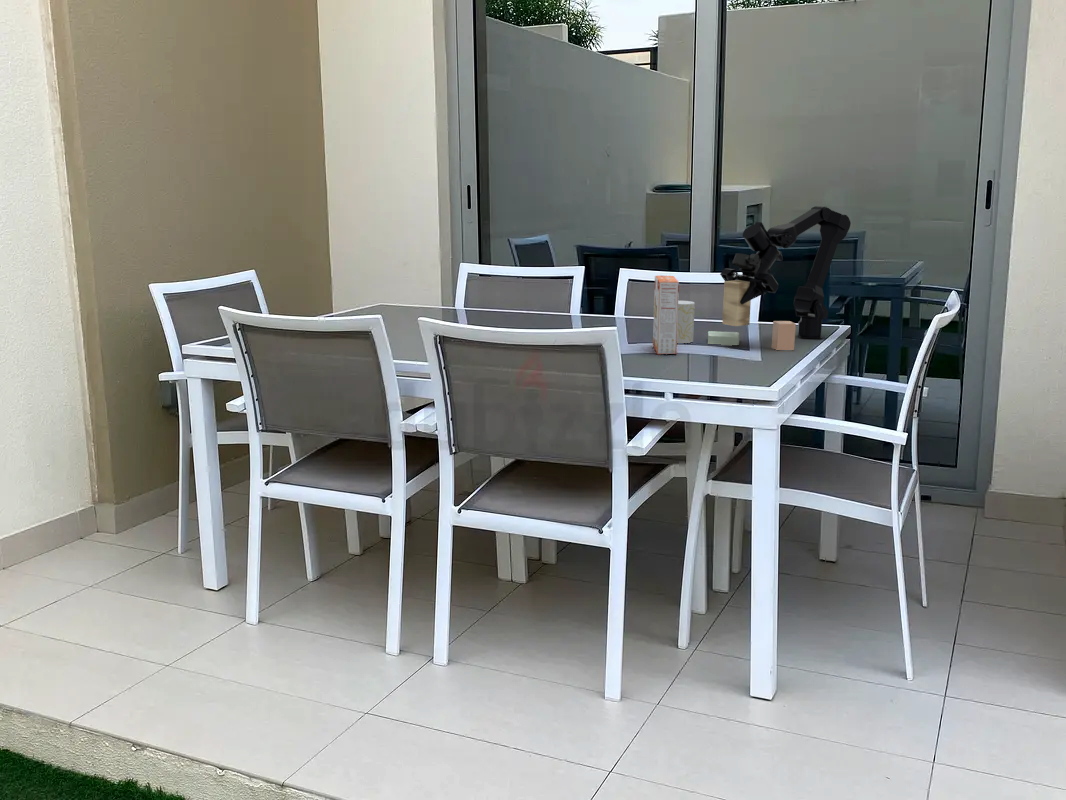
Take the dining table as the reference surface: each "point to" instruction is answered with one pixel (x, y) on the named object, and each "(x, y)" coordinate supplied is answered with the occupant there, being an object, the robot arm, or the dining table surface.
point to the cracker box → (665, 314)
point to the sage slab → (723, 338)
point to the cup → (685, 321)
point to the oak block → (735, 303)
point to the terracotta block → (783, 335)
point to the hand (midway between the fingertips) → (733, 302)
